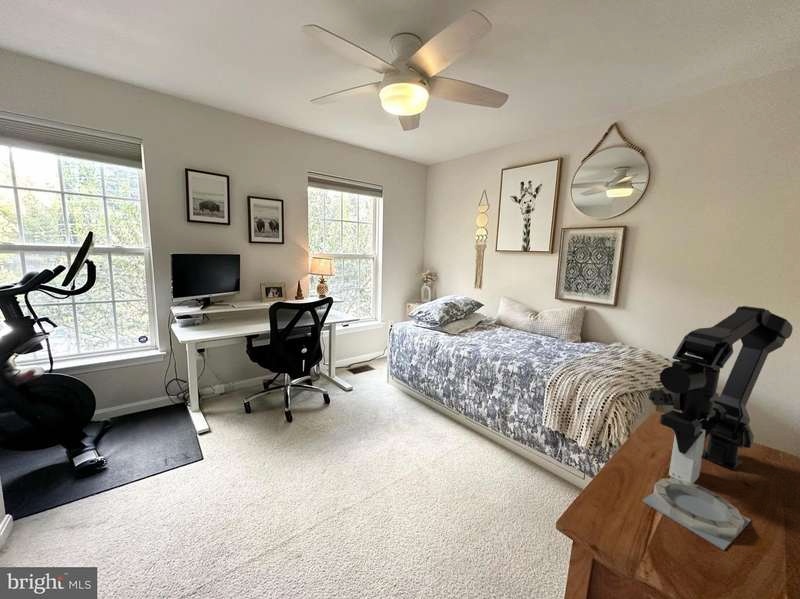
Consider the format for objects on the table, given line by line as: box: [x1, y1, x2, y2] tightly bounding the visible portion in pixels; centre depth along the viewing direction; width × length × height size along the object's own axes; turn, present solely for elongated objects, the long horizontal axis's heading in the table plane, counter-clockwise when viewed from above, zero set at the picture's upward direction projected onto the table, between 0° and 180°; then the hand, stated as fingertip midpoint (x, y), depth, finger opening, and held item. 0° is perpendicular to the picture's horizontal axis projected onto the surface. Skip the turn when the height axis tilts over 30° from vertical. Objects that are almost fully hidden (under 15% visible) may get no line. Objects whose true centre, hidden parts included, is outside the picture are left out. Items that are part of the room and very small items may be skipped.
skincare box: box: [668, 429, 706, 484], centre depth 77 cm, size 6×4×12 cm
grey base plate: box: [641, 491, 751, 551], centre depth 67 cm, size 14×13×1 cm
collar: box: [653, 478, 744, 539], centre depth 67 cm, size 13×13×2 cm
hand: (688, 449), depth 77 cm, fingers closed on skincare box, 6 cm apart
